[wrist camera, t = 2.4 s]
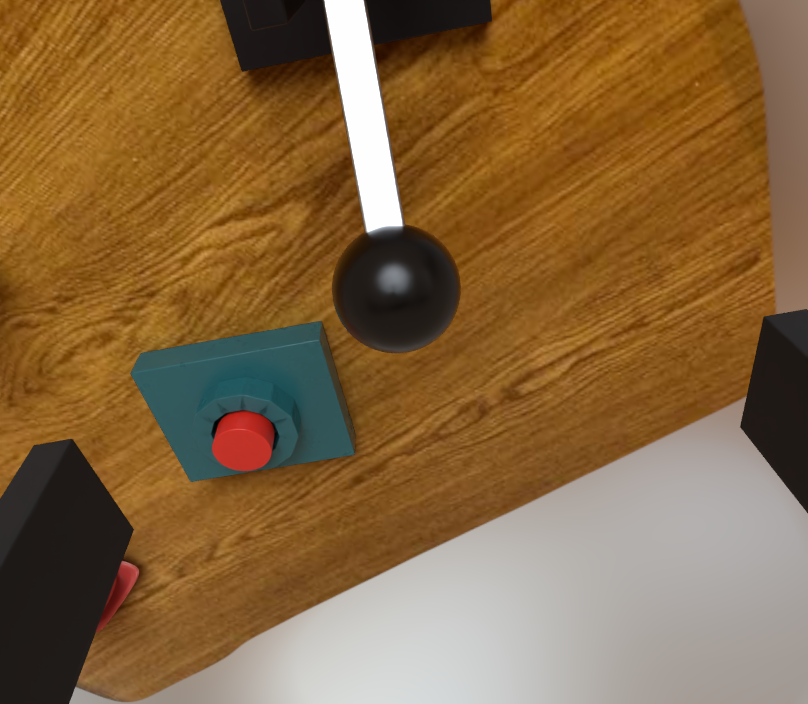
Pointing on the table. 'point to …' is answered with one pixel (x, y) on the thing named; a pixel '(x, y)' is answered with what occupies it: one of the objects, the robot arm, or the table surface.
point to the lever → (382, 213)
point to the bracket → (308, 35)
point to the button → (243, 441)
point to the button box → (249, 396)
